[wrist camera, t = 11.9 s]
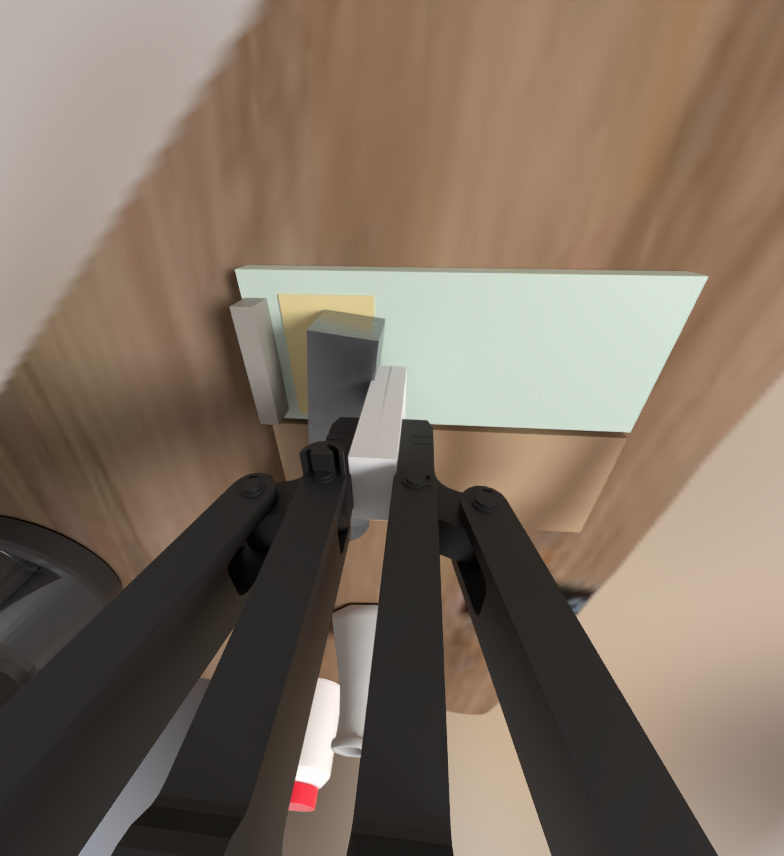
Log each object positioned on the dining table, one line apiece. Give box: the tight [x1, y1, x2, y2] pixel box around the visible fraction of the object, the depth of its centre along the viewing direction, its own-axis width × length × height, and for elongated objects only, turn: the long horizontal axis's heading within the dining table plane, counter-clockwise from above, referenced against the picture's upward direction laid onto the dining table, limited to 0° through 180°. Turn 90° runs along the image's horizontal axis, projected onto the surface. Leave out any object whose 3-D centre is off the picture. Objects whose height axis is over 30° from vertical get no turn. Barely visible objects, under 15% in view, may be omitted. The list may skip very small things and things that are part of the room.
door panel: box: [229, 265, 708, 432], centre depth 16 cm, size 20×8×3 cm, turn 90°
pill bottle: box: [288, 677, 340, 811], centre depth 41 cm, size 8×8×11 cm
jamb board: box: [273, 418, 627, 533], centre depth 21 cm, size 20×8×1 cm, turn 90°
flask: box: [331, 605, 378, 757], centre depth 30 cm, size 7×7×10 cm
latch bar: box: [307, 310, 385, 541], centre depth 17 cm, size 12×4×4 cm, turn 173°
